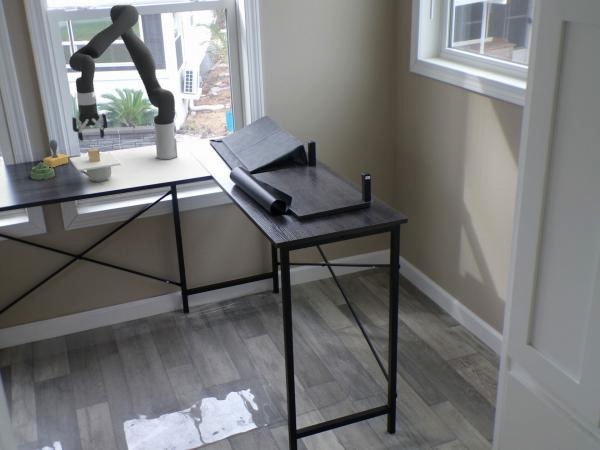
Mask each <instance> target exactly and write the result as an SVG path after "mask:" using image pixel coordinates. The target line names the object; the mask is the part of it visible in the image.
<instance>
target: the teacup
mask: <svg viewBox="0 0 600 450" xmlns="http://www.w3.org/2000/svg"><path fill="white" fill-rule="evenodd" d="M79 172H80V173H82V174H84V175H85V176H87V177H88V179H90V180H91V181H92V182H96V183H97V182H98V183H100V182H105V181H107V180H108V179H109V178H110V177H111V176H112V166H111V167H104V168H97V169H90V170H83V171H79Z"/></svg>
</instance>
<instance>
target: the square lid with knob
mask: <svg viewBox="0 0 600 450" xmlns="http://www.w3.org/2000/svg"><path fill="white" fill-rule="evenodd" d="M68 160H69V161H70V163H72V165H73V166H74V167H75V169H76V170H77V171H78V172H80V171H87V170H90V169H97V168H104V167H111V168H112V167H117V166H121V162H120V161H119V160H118V159H117V158H116V157H115V156H114V155H113V154H112V153H111V152H103V153H100V149H99V148H97V147H93V148H87V155H81V156H74V157H69V158H68Z"/></svg>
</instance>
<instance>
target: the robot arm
mask: <svg viewBox="0 0 600 450" xmlns="http://www.w3.org/2000/svg"><path fill="white" fill-rule="evenodd" d="M109 15H110V20H111V22H112V24H110V25H109V26H107V27H106V28H104V29H102V30H101V31H99V32H98V33H96V34H95V35H94V36H93V37H92V38H91V39H90V40H89V41H88V42H87V44H86V45H84V46H82V47H81V48H79V49H77V50H76V51H75V52H74V53H73V54H71V56H70V57H69V62H68V63H69V64H68V65H69V68H70V69H71V70H74V71H76V72H81V73H80V74H81V76H79V77H78V78H76V79H75V87H76V99H77V100H76V101H77V107H78V114H79V116H78V117H77V116H75V117H74V116H72V117H71V122H72V131H73V132H74V133H77V134H78V139H79V140H80V141H81V142H83V141H84V137H83V130H84V129H85V128H86V127H90V126H91V127H94V126H95V125H96V126H97V127H98V128H99V130H98V131H99V137H100V139H104V137H105V129H107V128H108V126H109V125H108V121H107V116H106V114H105V113H100V114H99V112H98V106H97V97H96V93H95V86H94V78H95V71H96V64H95V59H98V58H100V57H101V56H102V55H103V54H104V53H105V52H106V51H107V49H108V48H109V47H110V46H111V45H112V44H113V43H115V41H116V40H117V39H119V38H120V37H121V39H122V41H123V44H124V46H125V47H126V50H127V52H128V53H129V56H130V59H131V60H132V63H133V65H134V67H135V69H136V72H137V73H138V75H139V77H140V79H141V81H142V84H143V86H144V89H145V92H146V94H147V97H148V100H149V102H150V104H151V105H152V106H153V107H154V108H157V109H158V110H157V115H155V116H154V117H153V122H154V123H153V124H154V125H153V126H154V132H155V133H154V135H155V137H154V138H155V148H156V149H155V150H156V158H157V159H160V160H170V159H175V158H177V157H178V148H177V145H178V144H177V138H176V136H175V134H176V133H175V121H174V119H175V116H176V101H175V96H174V95H175V94H174V93H173V92H172V91H171V90H168V89H165V88H163V87H162V86H161V84H160V82H159V80H158V78H157V75H156V71H157V70H156V69H157V68H156V67H157V66H156V62H155V61H156V60H155V59H154V56H153V53H152V52H151V50H150V48H149V46H148V45H147V43H145V42H144V41H143V40H142V39H141V38H140V37H139V36H138V35H137V34H136V32H135V30H134V28H133V27H134V26H135V25H136V24H137V23H138V21H139V18H140V16H139V11H138V8H137V7H136V6H134V5H132V4H116V5H115V4H114V5H113V6H112V7H111V8H110V12H109ZM99 119H101V120H102V125H101V123H100V122H99ZM78 121H79V122H80V124H79V126H77V123H78ZM77 127H78V128H77ZM176 156H177V157H176ZM174 157H175V158H174Z"/></svg>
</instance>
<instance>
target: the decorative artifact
mask: <svg viewBox="0 0 600 450" xmlns="http://www.w3.org/2000/svg"><path fill="white" fill-rule="evenodd" d="M54 177H55V169H54V168H49V165H45V164H44V162H42V161H39V163H37V165H36V166H32V168H31V171H30V178H31V179H32V180H35V179H36V180H37V181H38V180H39V181H40V180H41V181H42V179H44V180H49V179H52V178H54ZM48 178H49V179H48Z"/></svg>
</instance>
